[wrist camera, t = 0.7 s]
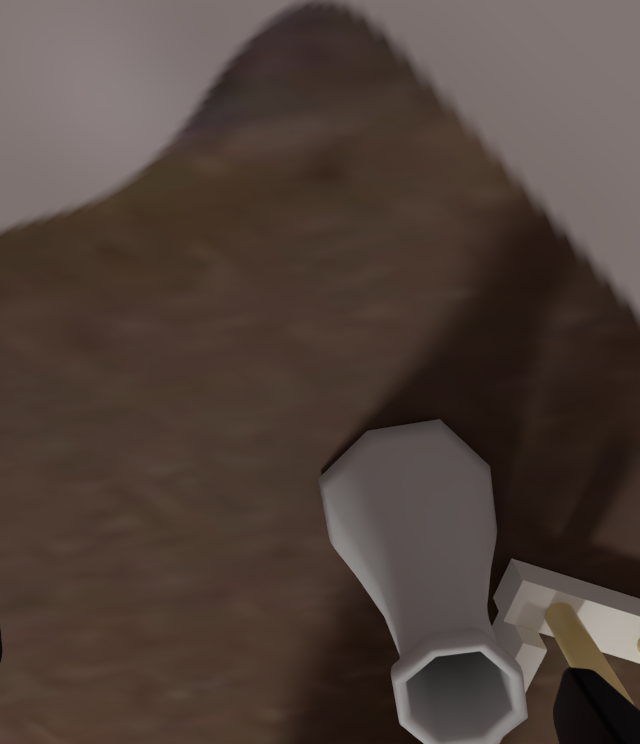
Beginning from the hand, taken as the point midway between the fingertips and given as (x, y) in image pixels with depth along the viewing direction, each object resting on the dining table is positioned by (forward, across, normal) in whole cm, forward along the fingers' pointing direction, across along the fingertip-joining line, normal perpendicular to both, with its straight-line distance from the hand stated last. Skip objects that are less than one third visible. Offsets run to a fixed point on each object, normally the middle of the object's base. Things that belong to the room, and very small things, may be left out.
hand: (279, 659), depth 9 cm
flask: (+13, -4, +4) cm, 15 cm away
